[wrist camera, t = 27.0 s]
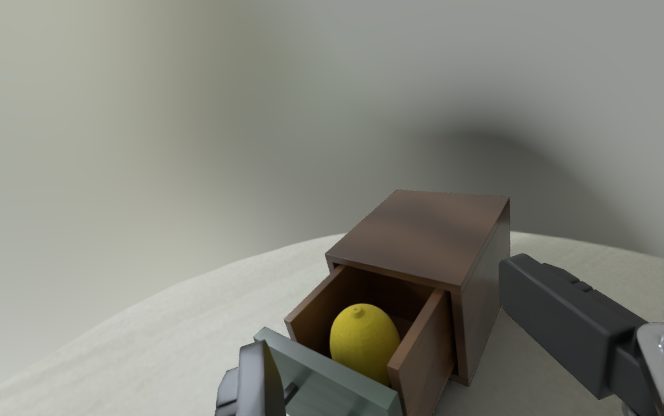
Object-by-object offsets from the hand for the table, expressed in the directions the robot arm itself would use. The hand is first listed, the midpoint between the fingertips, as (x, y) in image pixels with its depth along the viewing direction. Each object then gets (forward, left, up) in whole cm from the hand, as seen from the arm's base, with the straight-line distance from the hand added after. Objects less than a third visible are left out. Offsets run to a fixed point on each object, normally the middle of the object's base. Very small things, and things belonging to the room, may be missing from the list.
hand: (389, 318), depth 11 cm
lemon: (+7, +8, -17) cm, 20 cm away
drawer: (+6, +8, -18) cm, 21 cm away
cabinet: (+19, +8, -19) cm, 28 cm away
